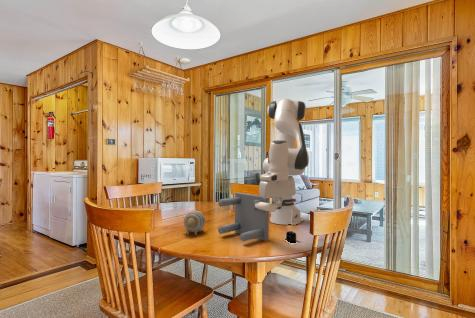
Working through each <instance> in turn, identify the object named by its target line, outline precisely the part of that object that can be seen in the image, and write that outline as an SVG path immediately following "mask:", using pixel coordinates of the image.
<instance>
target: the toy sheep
mask: <svg viewBox="0 0 475 318" xmlns="http://www.w3.org/2000/svg"><path fill="white" fill-rule="evenodd" d="M183 225H184V228H185V229H186V235H187V236H189V235H190V233H194V236H197V235H198V232H202V231H203V229H204V227H205V225H206V217H205V215H204V213H202V212H201V211H200V210H192V211H189V212H188V213H187V214H186V215H185V217H184V218H183Z"/></svg>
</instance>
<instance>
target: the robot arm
mask: <svg viewBox="0 0 475 318" xmlns="http://www.w3.org/2000/svg"><path fill="white" fill-rule="evenodd" d="M306 114H307V105H306V103H305V102H304V101H301V100H297V101H296V100H292V99H289V98H282V99H281V100H278V101H276V100H272V101H271V102H269V104H268V106H267V115H268V117H269V119H271V120H273V121H274V127H275V128H276V135H275V140H272V141H271V142H270V144H269V151H268V154H267V155H268V156H267V157H266V158H264V160H263V163H262V170H263V171H264V172H265V173H263V174H260V175H259V180H260V182H259V186H258V196H260V197H261V198H269V199H272V204H275V205H276V211H275V212H270V216H269V221H270V223H272V224H277V225H287V226H288V224H291V226H292V225H293V226H294V225H295V226H297V225H298V224H300V223H302V222H304V221H305V218H304V217H301V211H300V209H299V208H298V207H296V205H295V203H297V198H293V196H295V195H296V191H297V190H296V189H297V188H296V183H295V178H294V176H300V175H302V174H304V172H305V170H306V167H308V166H309V163H310V156H309V152H308V150H307V145H306V140H305V133H304V130H303V126H302V125H303V124H302V123H300V121H301V120H303V119H304V118H305V116H306ZM295 139H296V140H295ZM295 141H296V143H295ZM295 145H296V146H295ZM303 220H304V221H303ZM301 221H302V222H301ZM296 224H297V225H296Z"/></svg>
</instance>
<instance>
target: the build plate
mask: <svg viewBox="0 0 475 318" xmlns="http://www.w3.org/2000/svg"><path fill="white" fill-rule="evenodd" d="M285 234H286V235H285V238H286V239H285V240H287V241H288V242H290V243H296V242H297V241H298V240H297V233H296V232H294V231H293V230H292V231H290V230H289V231H286V233H285Z"/></svg>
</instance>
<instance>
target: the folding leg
mask: <svg viewBox="0 0 475 318" xmlns="http://www.w3.org/2000/svg"><path fill="white" fill-rule="evenodd" d="M254 210H256V211H259V210H265V211H269V213H271V212H275V211H276V205H275V204H273V203H272V202H271V203H270V202H269V203H265V202H261V200H254Z"/></svg>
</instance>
